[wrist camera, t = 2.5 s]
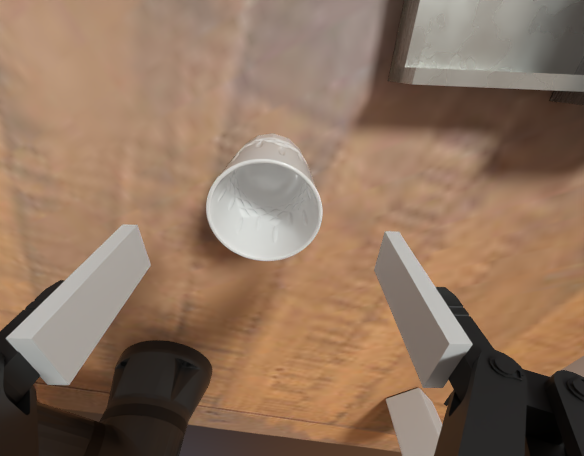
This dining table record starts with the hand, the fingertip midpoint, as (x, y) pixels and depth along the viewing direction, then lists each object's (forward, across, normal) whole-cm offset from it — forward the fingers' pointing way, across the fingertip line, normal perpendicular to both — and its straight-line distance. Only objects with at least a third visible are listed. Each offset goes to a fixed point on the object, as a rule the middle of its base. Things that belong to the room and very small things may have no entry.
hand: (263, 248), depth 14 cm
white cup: (+14, 0, 0) cm, 14 cm away
